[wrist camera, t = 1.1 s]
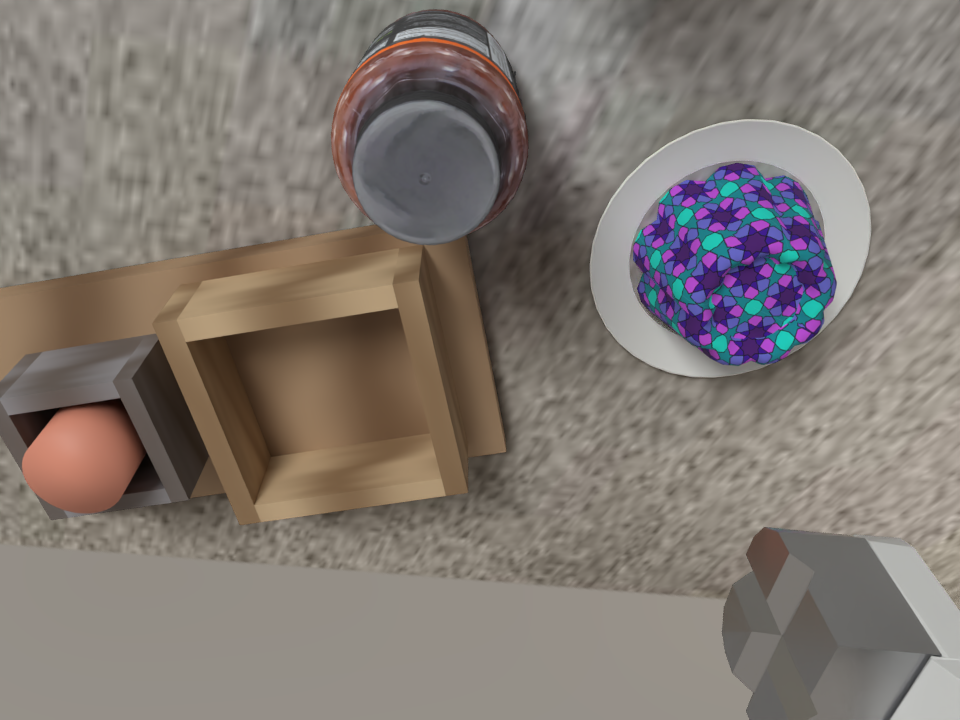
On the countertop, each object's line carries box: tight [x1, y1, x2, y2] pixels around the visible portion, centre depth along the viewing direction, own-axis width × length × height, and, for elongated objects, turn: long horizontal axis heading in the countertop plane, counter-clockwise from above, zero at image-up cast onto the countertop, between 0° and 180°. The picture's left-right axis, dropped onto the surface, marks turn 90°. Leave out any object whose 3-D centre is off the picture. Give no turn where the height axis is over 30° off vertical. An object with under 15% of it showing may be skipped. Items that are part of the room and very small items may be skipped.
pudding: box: [590, 119, 871, 378], centre depth 33 cm, size 12×12×5 cm
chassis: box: [0, 225, 506, 525], centre depth 35 cm, size 22×12×5 cm, turn 100°
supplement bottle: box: [331, 9, 528, 245], centre depth 26 cm, size 6×6×11 cm
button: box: [22, 398, 147, 513], centre depth 33 cm, size 4×4×3 cm
